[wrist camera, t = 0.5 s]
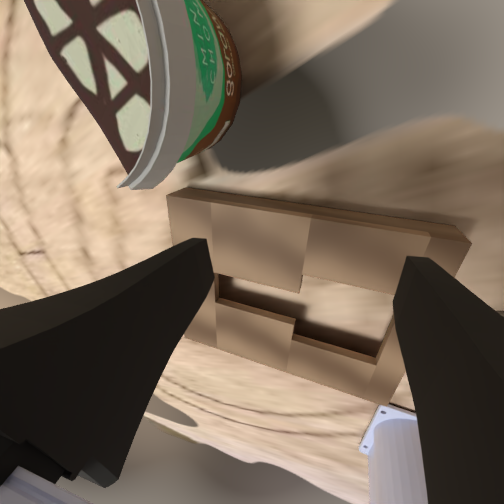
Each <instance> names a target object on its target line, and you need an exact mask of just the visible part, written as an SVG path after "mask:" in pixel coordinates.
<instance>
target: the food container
mask: <svg viewBox="0 0 504 504" xmlns="http://www.w3.org/2000/svg"><path fill="white" fill-rule="evenodd" d="M24 2H25V4H26V6H27V8H28V10H29V12H30V15H31V17H32V19H33V21H34V23H35V25H36V28H37V30H38V32H39V34H40V36H41V38H42V40H43V42H44V44H45V46H46V48H47V50H48V52H49V54H50V56H51V57H52V59H53V61H54V62H55V64H56V65H57V67H58V68H59V69H60V71H61V72H62V74H63V75H64V77H65V78H66V80H67V81H68V83H69V84H70V85H71V87H72V88H73V89H74V91H75V92H76V94H77V95H78V96H79V98H80V99H81V100H82V102H83V103H84V104H85V106H86V107H87V109H88V110H89V111H90V113H91V114H92V116H93V117H94V119H95V120H96V122H97V123H98V125H99V126H100V128H101V129H102V131H103V133H104V134H105V136H106V138H107V139H108V141H109V143H110V144H111V146H112V148H113V149H114V151H115V153H116V154H117V156H118V158H119V160H120V161H121V163H122V165H123V167H124V168H125V170H126V172H127V174H128V176H127V177H126V179H124V180H123V181H122V182H121V183H120V184H119V185H118V186H117V188H120V187H125V186H129V188H130V190H140V189H153V188H154V187H155V186H157V185H158V184H159V183H161V182H162V181H163V180H164V179H165V178H166V177H167V176H168V174H169V173H170V172H171V171H172V170H173V168H174V167H175V165H176V163H178V162H181V161H183V160H185V159H187V158H189V157H192V156H194V155H196V154H198V153H201V152H203V151H205V150H207V149H209V148H211V147H212V146H214V145H215V144H216V143H218V142H219V141H220V140H221V139H222V137H223V136H224V135H225V133H226V132H227V130H228V129H229V128H230V127H231V125H232V124H233V121H234V118H235V115H236V112H237V109H238V106H239V103H240V95H241V82H242V74H241V68H240V61H239V55H238V52H237V49H236V46H235V43H234V41H233V39H232V37H231V35H230V33H229V31H228V29H227V28H226V26H225V25H224V23H223V22H222V20H221V19H220V18H219V17H218V16H217V15H216V14H215V13H214V12H213V11H212V10H211V9H210V8H209V7H208V6H207V5H206V4H205V3H204V2H203V1H202V0H24Z"/></svg>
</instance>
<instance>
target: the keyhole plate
mask: <svg viewBox="0 0 504 504" xmlns="http://www.w3.org/2000/svg"><path fill="white" fill-rule="evenodd" d="M166 198H167V206H168V214H169V221H170V229H171V236H172V244H173V246H175V245H177V244H179V243H181V242H183V241H185V240H188V239H191V238H205V239H207V243H208V248H209V253H210V258H211V262H212V267H213V272H214V276H215V279H214V281H213V284H212V286H211V288H210V291H209V293H208V295H207V297H206V299H205V301H204V302H203V304H202V306H201V307H200V309H199V310H198V312H197V314H196V315H195V317H194V318H193V320H192V322H191V323H190V325H189V326H188V328H187V330H186V331H185V333H184V336H185V338H188V339H190V340H193V341H196V342H199V343H202V344H205V345H208V346H211V347H214V348H217V349H220V350H222V351H225V352H228V353H231V354H234V355H237V356H240V357H243V358H246V359H249V360H252V361H254V362H257V363H260V364H263V365H266V366H269V367H272V368H275V369H278V370H281V371H284V372H287V373H289V374H292V375H295V376H298V377H301V378H304V379H307V380H310V381H313V382H316V383H319V384H321V385H324V386H327V387H330V388H333V389H336V390H339V391H342V392H345V393H348V394H351V395H353V396H356V397H359V398H362V399H365V400H368V401H371V402H374V403H377V404H380V405H383V406H386V407H387V406H388V404H389V402H390V400H391V398H392V396H393V394H394V392H395V390H396V388H397V387H398V385H399V383H400V381H401V379H402V377H403V375H404V373H405V371H406V369H405V365H404V361H403V357H402V354H401V350H400V346H399V341H398V337H397V333H396V329H395V321H394V315H393V318H392V320H391V322H390V325H389V327H388V330H387V332H386V334H385V337H384V339H383V342H382V344H381V347H380V349H379V351H378V354H377V356H376V358H375V357H371V356H368V355H364V354H361V353H358V352H354V351H351V350H348V349H344V348H341V347H337V346H334V345H331V344H327V343H324V342H320V341H317V340H314V339H310V338H307V337H304V336H300V335H297V334H293V332H294V326H295V320H296V319H295V318H291V317H287V316H284V315H280V314H276V313H273V312H269V311H266V310H262V309H258V308H255V307H251V306H248V305H244V304H240V303H237V302H233V301H230V300H226V299H222V298H219V282H218V274H222V275H226V276H230V277H235V278H239V279H243V280H247V281H251V282H255V283H259V284H263V285H267V286H271V287H275V288H279V289H283V290H287V291H291V292H295V293H299V292H300V288H301V283H302V277H303V275H307V276H311V277H316V278H320V279H325V280H329V281H334V282H338V283H343V284H347V285H352V286H356V287H360V288H365V289H369V290H374V291H378V292H383V293H387V294H392V295H395V293H396V289H397V286H398V283H399V280H400V276H401V273H402V270H403V266H404V263H405V260H406V257H407V256H418V257H429V258H430V259H432V260H433V261H434V262H436V263H437V264H438V265H439V266H441V267H442V268H443V269H444V270H445V271H447V272H448V273H449V274H450V275H451V276H453V277H455V275H456V273H457V271H458V269H459V268H460V266H461V264H462V262H463V260H464V258H465V256H466V254H467V252H468V250H469V248H470V246H471V244H472V243H471V242H470V241H469V240H468V239H467V238H466V237H465V236H464V235H463V233H462V232H461V231H460V230H459V229H458V228H457V227H456V226H453V225H446V224H439V223H432V222H425V221H418V220H411V219H404V218H397V217H390V216H383V215H376V214H369V213H362V212H355V211H348V210H341V209H334V208H327V207H320V206H313V205H306V204H299V203H292V202H285V201H278V200H271V199H264V198H257V197H250V196H243V195H236V194H229V193H222V192H215V191H208V190H201V189H194V188H187V187H186V188H183V189H181V190H178V191H176V192H173V193H171V194H168V195H166Z"/></svg>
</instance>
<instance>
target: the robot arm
mask: <svg viewBox="0 0 504 504" xmlns="http://www.w3.org/2000/svg"><path fill="white" fill-rule="evenodd" d="M214 279H215V276H214V272H213V267H212V262H211V258H210V253H209V248H208V243H207V239H205V238H191V239H188V240H185V241H183V242H181V243H179V244H177V245H175V246H173V247H171V248H169V249H166V250H164V251H162V252H160V253H158V254H156V255H154V256H152V257H150V258H148V259H146V260H144V261H142V262H140V263H138V264H135V265H133V266H131V267H129V268H127V269H125V270H122V271H120V272H118V273H116V274H113V275H111V276H108V277H106V278H103V279H101V280H98V281H95V282H93V283H90V284H87V285H84V286H81V287H78V288H75V289H72V290H69V291H66V292H63V293H59V294H56V295H53V296H50V297H46V298H43V299H39V300H35V301H32V302H28V303H24V304H20V305H16V306H13V307H8V308H3V309H0V504H93V503H91V502H89V501H87V500H85V499H83V498H81V497H79V496H77V495H75V494H73V493H71V492H69V491H67V490H65V489H63V488H61V487H59V486H57V485H55V484H56V482H57V481H58V479H59V478H60V477H61V476H63V477H64V478H66V479H69V480H71V481H73V480H74V479H75V478H76V477H77V475H78V476H80V477H83V478H84V479H87V480H89V481H91V482H93V483H95V484H97V485H99V486H102V487H104V488H106V487H108V486H110V485H112V484H113V483H115V482H116V481H117V480H118V479H119V476H120V474H121V471H122V468H123V465H124V462H125V460H126V457H127V455H128V452H129V449H130V447H131V444H132V442H133V439H134V436H135V434H136V431H137V429H138V427H139V424H140V422H141V419H142V417H143V415H144V412H145V410H146V407H147V405H148V403H149V400H150V398H151V396H152V394H153V392H154V390H155V388H156V385H157V383H158V381H159V379H160V377H161V375H162V373H163V371H164V369H165V367H166V365H167V363H168V361H169V359H170V356H171V354H172V353H173V351H174V349H175V347H176V346H177V344H178V342H179V341H180V339H181V337H182V336H183V334H184V333H185V331H186V330H187V328H188V326H189V325H190V323H191V322H192V320H193V318H194V317H195V315H196V314H197V312H198V310H199V309H200V307H201V306H202V304H203V302H204V301H205V299H206V297H207V295H208V293H209V291H210V288H211V286H212V284H213V281H214ZM393 311H394V321H395V329H396V333H397V337H398V341H399V346H400V350H401V354H402V357H403V361H404V365H405V369H406V373H407V377H408V381H409V385H410V389H411V393H412V397H413V401H414V406H415V411H416V413H413V412H410V411H407V410H404V409H401V408H398V407H395V406H392V405H389V404H388V406H387V407H386V406H383V405H380V404H379V406H378V408H377V410H376V412H375V414H374V416H373V418H372V420H371V422H370V425H369V427H368V429H367V431H366V433H365V435H364V437H363V439H362V441H361V443H360V445H359V451H360V452H361V453H364V454H366V455H368V476H369V503H370V504H504V317H503V316H502V315H500V314H499V313H498V312H496V311H495V310H494V309H492V308H491V307H490V306H488V305H487V304H486V303H485V302H483V301H482V300H481V299H480V298H478V297H477V296H476V295H475V294H473V293H472V292H471V291H470V290H468V289H467V288H466V287H465V286H463V285H462V284H461V283H460V282H459V281H457V280H456V279H455V278H454V277H453V276H451V275H450V274H449V273H448V272H447V271H445V270H444V269H443V268H442V267H441V266H439V265H438V264H437V263H436V262H434V261H433V260H432V259H430V258H429V257H418V256H407V257H406V260H405V263H404V266H403V270H402V273H401V276H400V280H399V283H398V286H397V289H396V293H395V296H394V299H393Z"/></svg>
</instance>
